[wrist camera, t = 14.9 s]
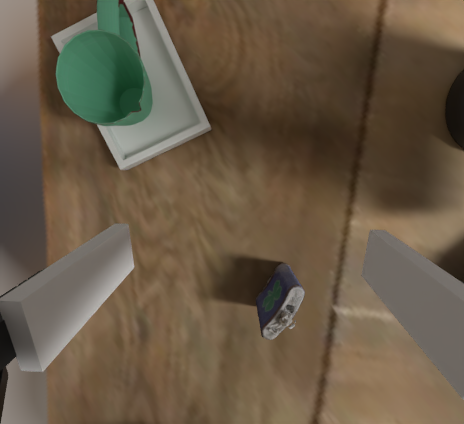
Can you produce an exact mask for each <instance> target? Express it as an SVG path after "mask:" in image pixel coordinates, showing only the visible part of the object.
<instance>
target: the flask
mask: <svg viewBox="0 0 464 424" xmlns="http://www.w3.org/2000/svg"><path fill="white" fill-rule="evenodd" d="M304 294H305V291H304V289H303V287H302V286H301V284H300V283H299V281H298V280H297V278H296V276H295V275H294V273H293V272H292V270H291V268H290V266H289V265H287V264H285V263H281V264H279V265H278V266H277V267H276V268H275V272H274V273H273V275H272V276H271V277H270V278H269V279H268V281H267V285H266V287H263V291H262V292H261V293H260V294H259V295H258V296H257V298H256V305H257V310H258V317H259V321H260V328H261V335H262V337H264V338H266V339H269V340H272V339H274V338H275V337H277V336H278V334H279V333H280V332H282V331H283V330H284V329H285V328H286V327H287V326H288V325H290V324H291V323H292V319H293V317H294V315H295V314H296V312H297V310H298V308H299V306H300V304H301V302H302V300H303V298H304ZM294 322H295V323H296V320H295V321H294ZM294 326H295V324H292V325H291V326H290V327H289V328H290V329H292V328H293V327H294Z"/></svg>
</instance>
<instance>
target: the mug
mask: <svg viewBox="0 0 464 424" xmlns="http://www.w3.org/2000/svg"><path fill="white" fill-rule="evenodd" d="M97 23H98V30H87V31H84V32H82V33H80V34H78V35H75V36H74V37H73V38H72V39H71V40H70V41H68V42H67V43H66V44H65V45H64V47H63V49H62V51H61V53H60V55H59V57H58V60H57V67H56V80H57V86H58V90H59V92H60V94H61V96H62V98H63V100H64V102H65V103H66V105H67V106H68V107H69V108H70V109H71V110H72V111H73V113H74V114H76V115H78V116H79V117H81V118H82V119H84V120H85V121H88V122H91V123H94V124H98V125H102V126H129V125H134V124H137V123H139V122H142V121H143V120H145V119H146V118H147V117H148V116H149V114H150V112H151V109H152V104H153V99H152V89H151V84H150V81H149V78H148V75H147V72H146V70H145V67H144V65H143V62H142V60H141V57H140V50H139V45H138V40H137V36H136V31H135V27H134V22H133V17H132V16H131V14H130V12H129V10H128V8H127V6H126V4H125V2H124V0H97Z"/></svg>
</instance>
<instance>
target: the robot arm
mask: <svg viewBox="0 0 464 424" xmlns="http://www.w3.org/2000/svg"><path fill="white" fill-rule="evenodd" d="M446 121H447V125H448V128H449V131H450V133H451V135H452V137H453V138H454V139H455V141H456V142H457V143H458V144H459V145H460V146H461V147H463V148H464V70H463V71H462V72H461V73H460V75H459V76H458V77H457V79H456V80H455V82H454V83H453V85H452V87H451V90H450V92H449V95H448V98H447V103H446ZM133 268H134V262H133V255H132V248H131V240H130V233H129V226H128V224H114V225H112V226H111V227H109V228H108V229H106V230H105V231H103V232H101V233H100V234H98V235H97V236H95V237H94V238H92V239H91V240H89V241H88V242H86V243H84V244H83V245H81V246H80V247H78V248H77V249H75V250H74V251H72V252H71V253H69V254H68V255H66V256H64V257H63V258H61V259H60V260H58V261H57V262H55V263H54V264H52V265H51V266H49V267H47V268H46V269H43V270H41V271H39V272H37V273H36V274H34V275H33V276H31V277H30V278H28V280H25V281H23V282H22V283H20V284H19V285H18V286H17V287H14V288H12V289H11V290H9V291H8V292H6V293H5V294H3V295H2V296H0V423H1V417H2V411H3V405H4V398H5V392H6V386H7V380H8V372H7V369H6V365H7V364H9V363H10V361H12V360H13V359H14V358H15V357H16V358H17V361H18V364H19V367H20V370H21V371H36V372H43V371H44V370H45V369H46V368H47V366H48V365H49V364H50V363H51V362H52V361H53V360H54V358H55V357H56V356H57V355H58V354H59V353H60V352H61V351H62V349H63V348H64V347H65V346H66V345H67V344H68V343H69V341H70V340H71V339H72V338H73V337H74V336H75V335H76V333H77V332H78V331H79V330H80V329H81V328H82V327H83V325H84V324H85V323H86V322H87V321H88V320H89V319H90V317H91V316H92V315H93V314H94V313H95V312H96V311H97V309H98V308H99V307H100V306H101V305H102V304H103V303H104V301H105V300H106V299H107V298H108V297H109V296H110V295H111V293H112V292H113V291H114V290H115V289H116V288H117V287H118V285H119V284H120V283H121V282H122V281H123V280H124V279H125V277H126V276H127V275H128V274H129V273H130V272H131V271H132V269H133ZM361 276H362V277H363V278H364V279H365V281H366V282H367V283H368V284H369V285H370V287H371V288H372V289H373V290H374V292H375V293H376V294H377V295H378V296H379V298H380V299H381V300H382V301H383V303H384V304H385V305H386V306H387V307H388V309H389V310H390V311H391V312H392V314H393V315H394V316H395V317H396V318H397V320H398V321H399V322H400V323H401V325H402V326H403V327H404V328H405V329H406V331H407V332H408V333H409V334H410V335H411V337H412V338H413V339H414V340H415V342H416V343H417V344H418V345H419V346H420V348H421V349H422V350H423V351H424V353H425V354H426V355H427V356H428V357H429V359H430V360H431V361H432V362H433V364H434V365H435V366H436V367H437V368H438V370H439V371H440V372H441V373H442V375H443V376H444V377H445V378H446V379H447V381H448V382H449V383H450V384H451V386H452V387H453V388H454V389H455V390H456V392H457V393H458V394H459V395H460V396H461V398H462V399H464V282H462V281H460V280H458V279H456V278H455V277H453V276H452V275H450V274H449V273H447V272H446V271H444V270H443V269H441V268H440V267H438V266H437V265H436V264H434V263H433V262H431V261H430V260H428V259H427V258H425V257H424V256H422V255H421V254H419V253H418V252H416V251H415V250H413V249H412V248H410V247H409V246H408V245H406V244H405V243H403V242H402V241H400V240H399V239H397V238H396V237H394V236H393V235H391V234H390V233H388V232H387V231H385V230H370V233H369V238H368V243H367V249H366V254H365V259H364V265H363V270H362V275H361Z"/></svg>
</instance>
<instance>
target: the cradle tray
mask: <svg viewBox="0 0 464 424" xmlns="http://www.w3.org/2000/svg"><path fill="white" fill-rule="evenodd" d="M124 2H125V4H126V6H127V8H128V10H129V12H130V14H131V16H132V17H133V22H134V27H135V31H136V36H137V40H138V45H139V50H140V57H141V60H142V62H143V65H144V67H145V70H146V72H147V75H148V78H149V81H150V84H151V89H152V99H153V104H152V109H151V112H150V114H149V116H148V117H147V118H146V119H145V120H143V121H142V122H139V123H137V124H134V125H129V126H102V125H98V124H97V126H98V128H99V130H100V132H101V134H102V135H103V137H104V139H105V141H106V143H107V145H108V147H109V149H110V151H111V153H112V155H113V157H114V158H115V160H116V162H117V164H118V166H119V168H120V170H129V169H131V168H133V167H135V166H137V165H139V164H141V163H143V162H145V161H147V160H149V159H152V158H154V157H156V156H158V155H160V154H162V153H164V152H166V151H168V150H170V149H172V148H175V147H177V146H179V145H181V144H183V143H185V142H187V141H189V140H191V139H193V138H195V137H198V136H200V135H202V134H204V133H206V132H208V131H210V130H212V129H211V126H210V124H209V122H208V120H207V118H206V115H205V113H204V111H203V109H202V107H201V104H200V102H199V100H198V98H197V96H196V93H195V91H194V89H193V87H192V85H191V82H190V80H189V78H188V76H187V73H186V71H185V69H184V67H183V65H182V62H181V60H180V58H179V56H178V54H177V51H176V49H175V47H174V45H173V43H172V40H171V38H170V36H169V34H168V32H167V29H166V27H165V25H164V23H163V20H162V18H161V16H160V14H159V12H158V9H157V7H156V5H155V3H154V1H153V0H124ZM87 30H98V23H97V13H95V14H93V15H91V16H89V17H87V18H85V19H83V20H81V21H80V22H78V23H76V24H74V25H72V26H70V27H68V28H66V29H64V30H62V31H60V32H59V33H57V34H55V35H53V36H51V38H52V40H53V42H54V44H55V45H56V47H57V49H58V51H59V53H61V51H62V49H63V47H64V45H65V44H66V43H67V42H68V41H70V40H71V39H72V38H73V37H74V36H75V35H78V34H80V33H82V32H84V31H87Z"/></svg>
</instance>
